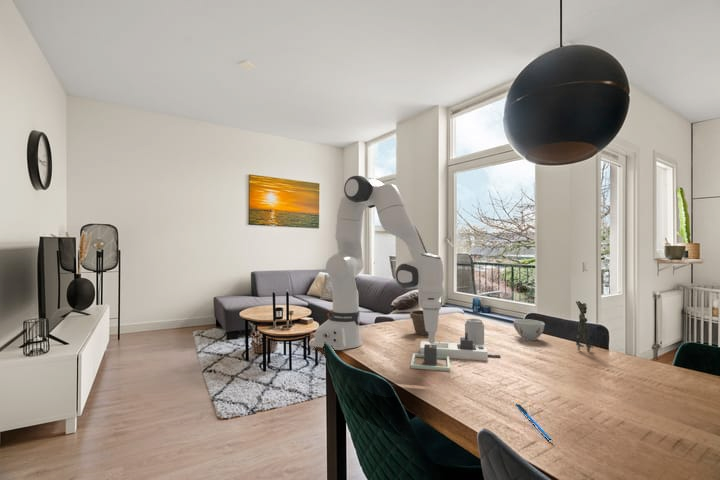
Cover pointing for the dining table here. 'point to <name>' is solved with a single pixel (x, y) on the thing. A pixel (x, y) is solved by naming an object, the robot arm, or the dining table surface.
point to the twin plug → (466, 342)
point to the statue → (582, 326)
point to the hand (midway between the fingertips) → (431, 339)
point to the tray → (429, 365)
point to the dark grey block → (430, 354)
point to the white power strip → (459, 351)
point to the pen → (532, 421)
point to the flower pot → (418, 322)
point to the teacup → (529, 328)
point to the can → (475, 330)
